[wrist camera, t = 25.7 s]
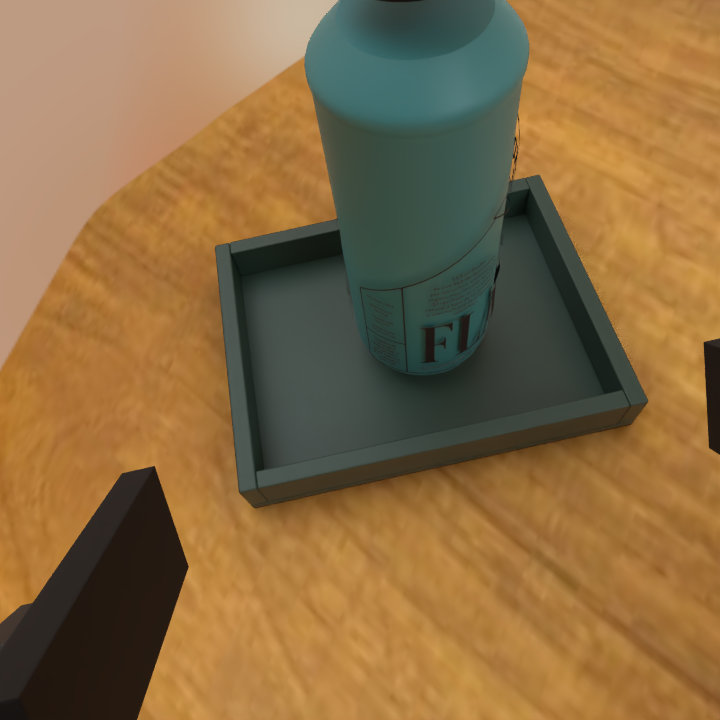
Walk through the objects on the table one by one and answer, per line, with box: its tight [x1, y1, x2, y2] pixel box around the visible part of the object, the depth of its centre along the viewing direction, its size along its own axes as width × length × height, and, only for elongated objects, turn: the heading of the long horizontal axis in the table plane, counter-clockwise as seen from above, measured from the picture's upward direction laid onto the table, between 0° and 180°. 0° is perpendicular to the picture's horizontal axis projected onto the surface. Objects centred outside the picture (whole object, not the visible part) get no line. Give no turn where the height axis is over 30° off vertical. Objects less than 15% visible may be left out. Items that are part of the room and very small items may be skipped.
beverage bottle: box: [305, 0, 529, 375], centre depth 21 cm, size 6×7×20 cm
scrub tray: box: [215, 175, 648, 508], centre depth 29 cm, size 18×14×2 cm
